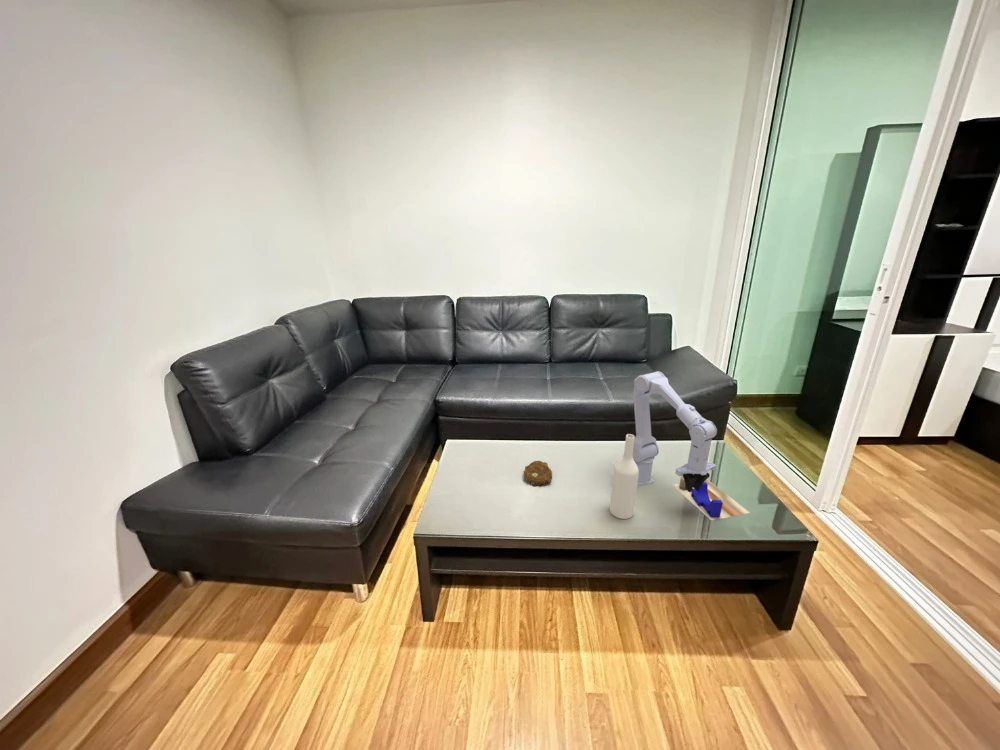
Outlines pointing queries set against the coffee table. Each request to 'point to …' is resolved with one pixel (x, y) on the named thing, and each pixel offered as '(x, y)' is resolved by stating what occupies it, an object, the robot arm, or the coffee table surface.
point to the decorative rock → (538, 473)
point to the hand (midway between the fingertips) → (692, 489)
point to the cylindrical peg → (682, 483)
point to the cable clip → (707, 501)
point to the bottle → (624, 483)
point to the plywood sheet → (715, 493)
